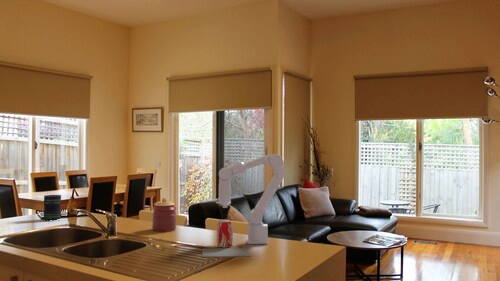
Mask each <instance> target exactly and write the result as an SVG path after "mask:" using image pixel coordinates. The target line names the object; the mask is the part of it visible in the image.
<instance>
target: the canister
mask: <svg viewBox="0 0 500 281" xmlns="http://www.w3.org/2000/svg"><path fill="white" fill-rule="evenodd" d="M161 199H162V200H160V201H157V202H155V203H153V205H154V207H152V225H151V226H152V227H151V228H152V229H151V230H152V231H153V232H158V231H159V232H163V233H164V232H165V233H166V232H167V231H168V232H173V231H175V230H176V228H177V223H176V222H177V213H176V209H177V206H175V205H176V203H174V202H173V201H171V200H168V198H167V197H162V198H161ZM159 232H158V233H159Z"/></svg>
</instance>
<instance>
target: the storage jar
mask: <svg viewBox="0 0 500 281" xmlns="http://www.w3.org/2000/svg"><path fill="white" fill-rule="evenodd" d="M61 205H62V195H61V194H45V195H44V196H43V208H44V209H43V221H44V220H57V219H60V218H61V216H62V210H61V208H62V207H61Z"/></svg>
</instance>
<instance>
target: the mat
mask: <svg viewBox="0 0 500 281" xmlns="http://www.w3.org/2000/svg"><path fill="white" fill-rule="evenodd" d="M201 252H202V253H201V258H247V257H248V258H249V257H251V253H250V251H249V249H248V247H237V248H236V247H233V248H231V247H229V248H220V247H219V248H216V247H215V248H202V251H201Z"/></svg>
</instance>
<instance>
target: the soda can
mask: <svg viewBox="0 0 500 281" xmlns="http://www.w3.org/2000/svg"><path fill="white" fill-rule="evenodd" d="M216 226H217V230H216V233H217V234H216V244H217V247H219V248H220V247H222V248H226V247H229V248H231V247H232V246H233V242H234V241H233V236H234V234H233V233H234V232H233V230H234V228H233V226H234V225H233V221H232V220H231V219H227V220H226V219H224V220H222V219H219V220H218V223H217V224H216Z"/></svg>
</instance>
